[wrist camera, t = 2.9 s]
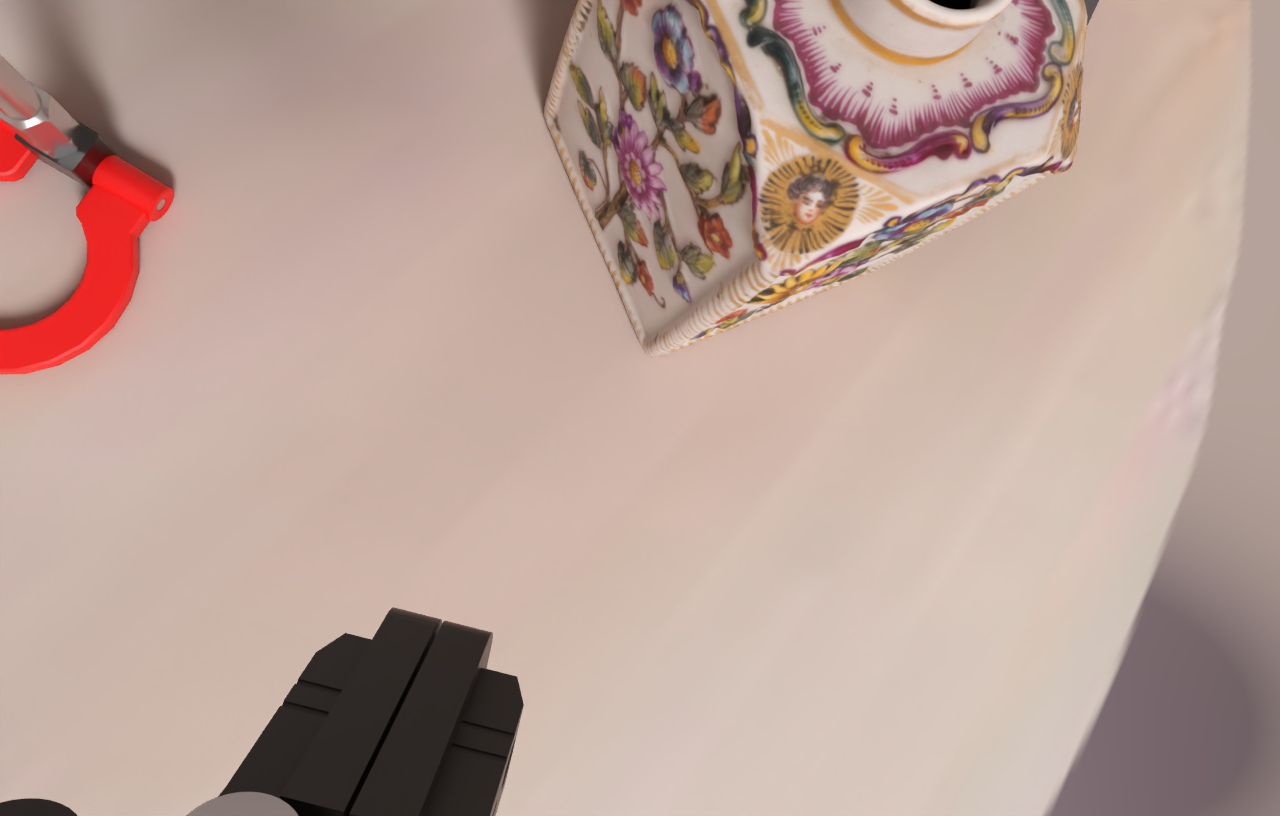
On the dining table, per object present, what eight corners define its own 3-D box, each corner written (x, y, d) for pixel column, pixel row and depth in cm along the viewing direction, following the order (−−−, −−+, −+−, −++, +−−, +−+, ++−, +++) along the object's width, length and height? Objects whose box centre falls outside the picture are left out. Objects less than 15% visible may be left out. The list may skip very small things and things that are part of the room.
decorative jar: (533, 109, 37) (640, -252, 20) (771, 37, 41) (1038, -327, 23) (646, 373, 37) (851, 237, 20) (876, 280, 40) (1225, 93, 23)
